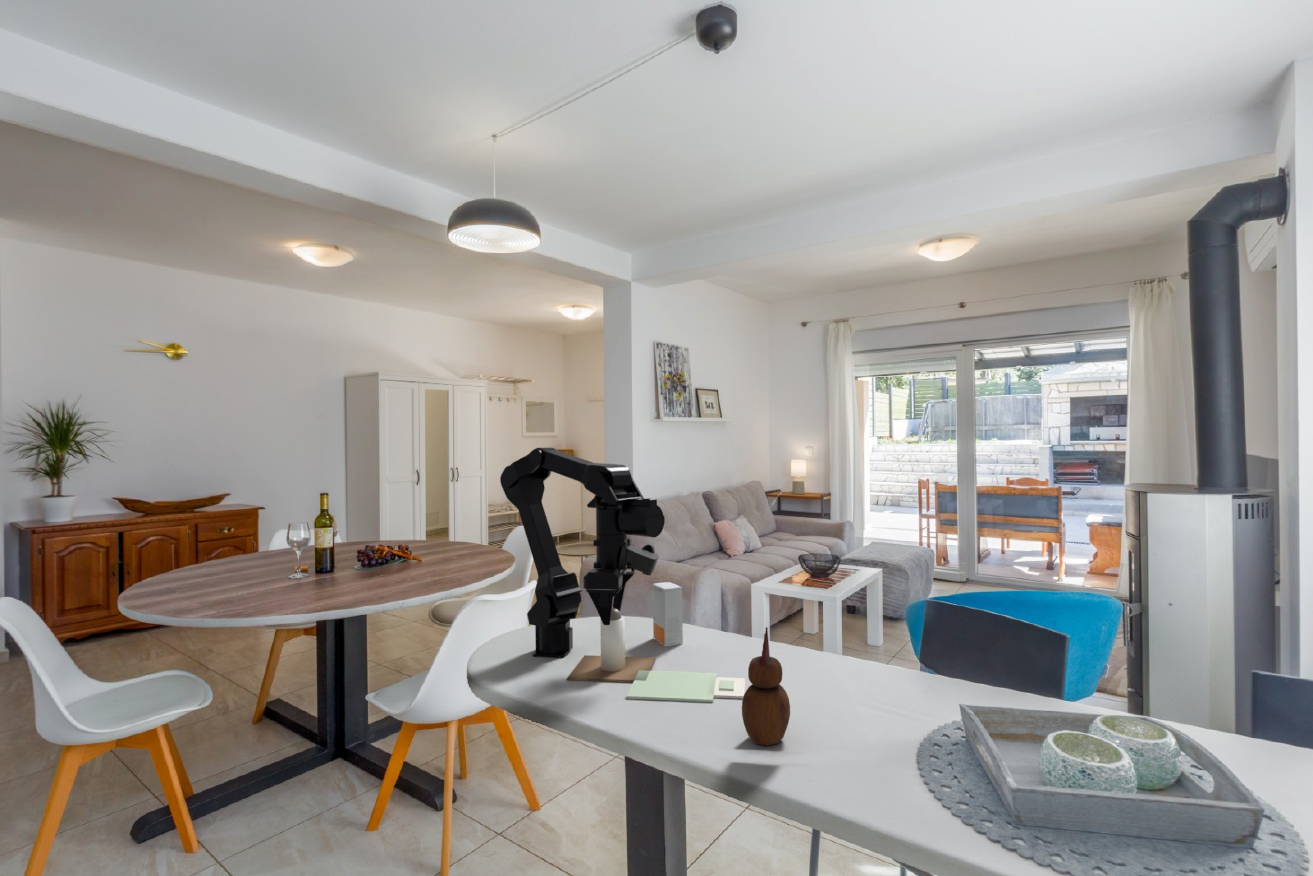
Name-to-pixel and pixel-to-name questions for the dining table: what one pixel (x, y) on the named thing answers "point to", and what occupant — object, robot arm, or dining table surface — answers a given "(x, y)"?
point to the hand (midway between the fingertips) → (612, 618)
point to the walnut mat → (592, 672)
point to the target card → (729, 688)
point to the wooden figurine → (765, 700)
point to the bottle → (613, 643)
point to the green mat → (674, 686)
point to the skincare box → (667, 613)
